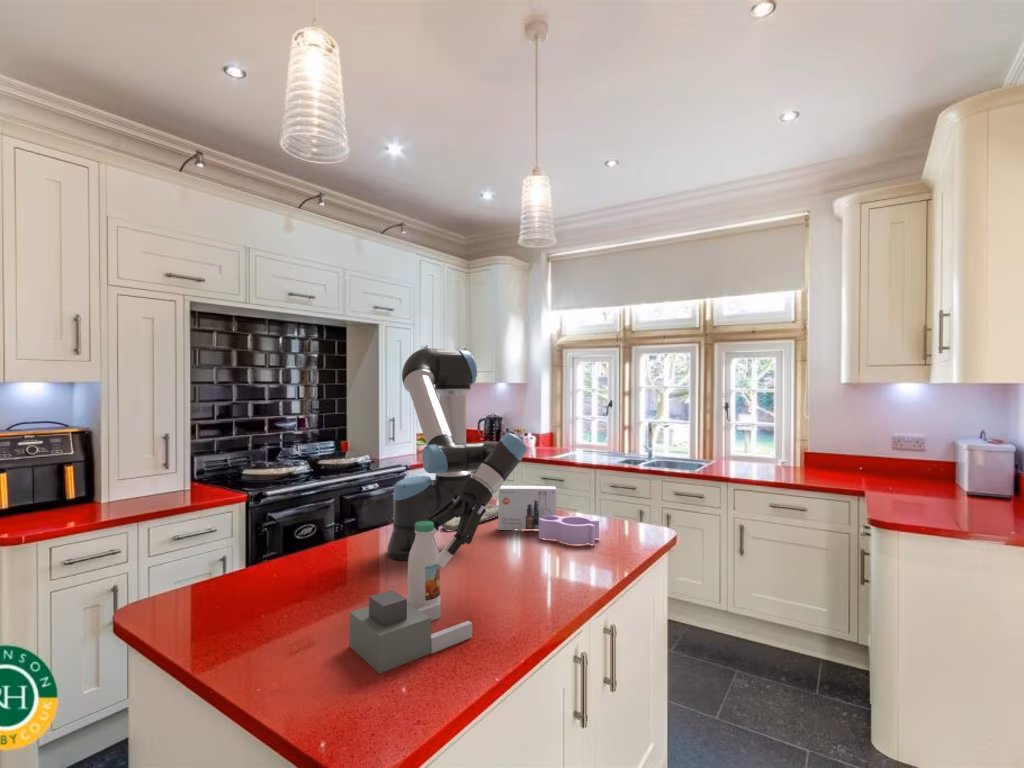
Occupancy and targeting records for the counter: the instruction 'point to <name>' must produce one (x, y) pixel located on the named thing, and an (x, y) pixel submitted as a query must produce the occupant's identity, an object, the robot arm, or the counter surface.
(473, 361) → the robot arm
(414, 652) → the stacked grey blocks
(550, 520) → the clip
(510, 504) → the skincare box
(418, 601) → the milk bottle
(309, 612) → the counter surface
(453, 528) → the long grey stone
